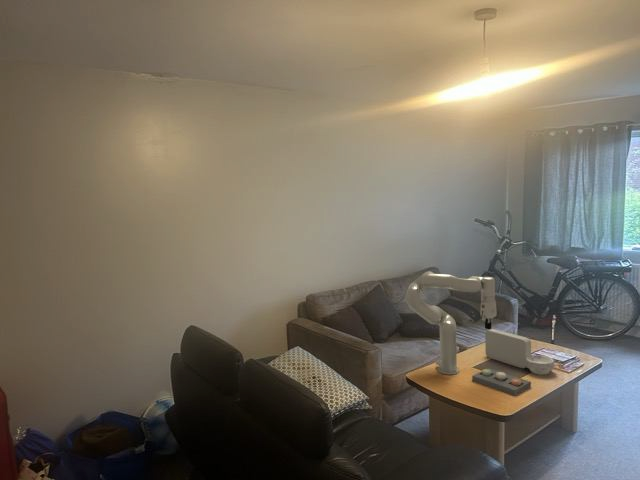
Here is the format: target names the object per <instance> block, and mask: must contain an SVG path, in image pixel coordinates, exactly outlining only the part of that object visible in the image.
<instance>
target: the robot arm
mask: <svg viewBox="0 0 640 480" xmlns="http://www.w3.org/2000/svg"><path fill="white" fill-rule="evenodd" d="M428 288H431V289H443V290H444V289H445V290H452V291H458V292H464V293H465V292H467V293H476V292H479V291H480V295H481V296H480V298H481V300H480V301H481V302H480V311H479V313H480V318H481V321H483V322H484V329H485V330H491V329H492V322H493V319H494V318H495V317H497V312H498V311H497V302H496V294H495V293H496V280H495V278H494V277H492V276H477V275H476V276H475V275H472V276H469V277H468V278H459V277H457V276H454V275H453V274H448V273H447V274H445V273H444V274H443V273H434V272H433V271H430V270H429V271H425V272H424V273H422V274H421V275H420V276H419V277H417V278H416V279H414V281H413V282H411V283H409V285H408V288H407V291H406V294H405V295H406V296H405V302H406V304H407V305H408V307H409V308H410V309H411V310H412V311H413V312H414V313H416V314H417V315H418V316H419V317H421V319H424V321H426V322H428V323H429V324H430V325H437V326H439V355H440V356H439V359H437V360H436V362H435V365H438V367H437V371H438V372H439V373H441V374H443V375H450V376H451V375H456V374H458V373H460V368H459V367H458V365H457V362H458V361H457V323H456V320H455V319H454V317H453V316H452V315H450V314H449V313H447V312H446V311H444V310H443V308H441V307H439V306H438V305H429V304H428V303H427V302H426V301H424V300H423V299H422V298H421V295H422V293H423V292H424V291H426V290H427V289H428Z"/></svg>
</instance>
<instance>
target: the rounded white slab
mask: <svg viewBox="0 0 640 480" xmlns="http://www.w3.org/2000/svg"><path fill="white" fill-rule="evenodd" d="M484 334H485V336H484V337H485V339H484V340H485V343H484V344H485V356H486V357H487V358H489V359H492V360H496V361H499V362H501V363H505V364H508V365H510V366H514V367H515V368H516V367H517V368H520V369H525V368H527V367H526V357H528V356H531V355H532V342H531V341H532V340H531V339H530V338H528V337H525V336H522V335H518V334H514V333H511V332H507V331H503V330H498V329H495V328H491V329H490V330H489V329H487V330H486V331H485V333H484Z"/></svg>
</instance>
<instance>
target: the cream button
mask: <svg viewBox="0 0 640 480" xmlns="http://www.w3.org/2000/svg"><path fill="white" fill-rule="evenodd" d="M506 374H507V373H506V372H503V371H499V372H497V373H496V378H497V379H499V380H505V379H506Z"/></svg>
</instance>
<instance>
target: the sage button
mask: <svg viewBox="0 0 640 480" xmlns="http://www.w3.org/2000/svg"><path fill="white" fill-rule="evenodd" d="M481 371H482V375H484V376H487V377H489V376H491V370H488V368H485V369H484V368H483V369H482V370H481Z"/></svg>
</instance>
